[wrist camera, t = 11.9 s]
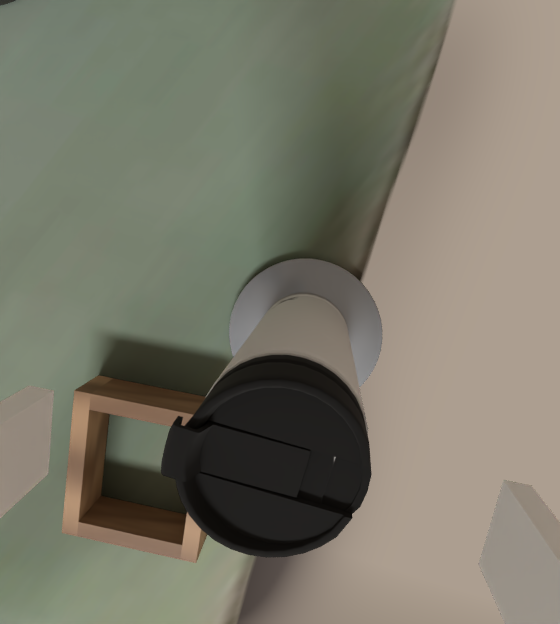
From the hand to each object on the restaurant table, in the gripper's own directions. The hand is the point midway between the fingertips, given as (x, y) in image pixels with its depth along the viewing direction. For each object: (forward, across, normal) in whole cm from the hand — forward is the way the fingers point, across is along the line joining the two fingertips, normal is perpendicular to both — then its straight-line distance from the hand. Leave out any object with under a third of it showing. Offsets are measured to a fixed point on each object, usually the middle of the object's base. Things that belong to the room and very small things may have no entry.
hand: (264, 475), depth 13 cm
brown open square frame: (+21, -10, -13) cm, 26 cm away
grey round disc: (+21, 0, -1) cm, 21 cm away
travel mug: (+21, 0, -1) cm, 21 cm away
